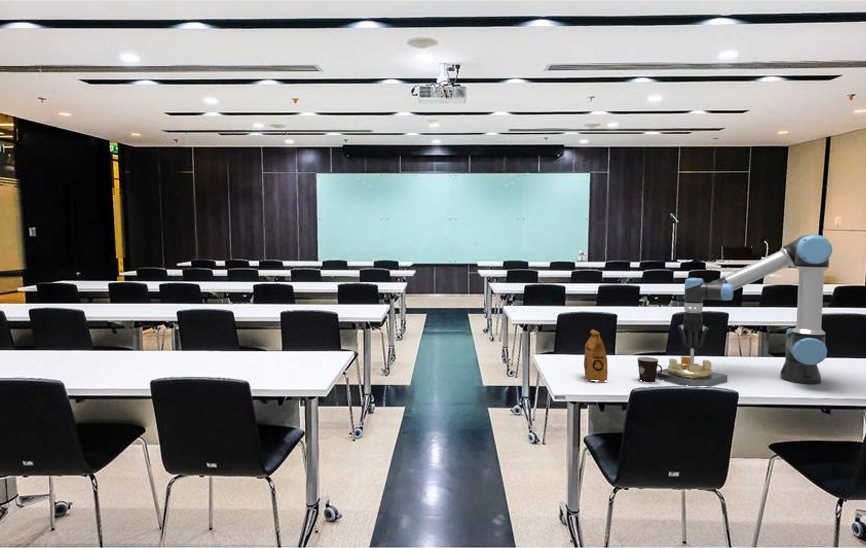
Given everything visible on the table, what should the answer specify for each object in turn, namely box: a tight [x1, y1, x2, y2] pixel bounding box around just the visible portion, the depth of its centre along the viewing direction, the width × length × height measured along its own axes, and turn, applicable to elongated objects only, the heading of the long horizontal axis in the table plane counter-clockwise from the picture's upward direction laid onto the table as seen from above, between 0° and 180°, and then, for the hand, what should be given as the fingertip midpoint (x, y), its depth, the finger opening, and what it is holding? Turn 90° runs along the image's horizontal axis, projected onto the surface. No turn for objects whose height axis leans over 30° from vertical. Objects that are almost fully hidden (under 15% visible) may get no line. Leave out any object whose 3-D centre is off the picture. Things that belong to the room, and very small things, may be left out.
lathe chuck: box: [667, 356, 713, 378], centre depth 241 cm, size 18×18×6 cm
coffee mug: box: [637, 356, 663, 383], centre depth 239 cm, size 12×9×10 cm
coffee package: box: [583, 329, 609, 381], centre depth 244 cm, size 10×12×22 cm
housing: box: [655, 367, 729, 387], centre depth 242 cm, size 22×22×3 cm
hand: (692, 362), depth 247 cm, fingers closed
